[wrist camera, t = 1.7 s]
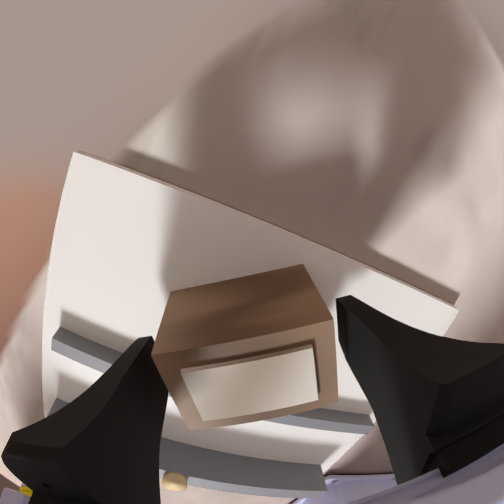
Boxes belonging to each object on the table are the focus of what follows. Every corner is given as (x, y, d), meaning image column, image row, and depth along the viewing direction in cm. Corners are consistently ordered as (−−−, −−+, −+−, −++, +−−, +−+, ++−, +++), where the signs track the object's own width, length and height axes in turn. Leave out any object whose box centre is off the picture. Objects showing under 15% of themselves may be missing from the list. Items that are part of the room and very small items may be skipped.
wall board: (453, 305, 15) (490, 339, 12) (309, 478, 20) (317, 514, 17) (80, 150, 11) (33, 159, 8) (46, 411, 16) (29, 449, 13)
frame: (302, 263, 13) (335, 322, 9) (312, 338, 14) (339, 406, 10) (170, 291, 13) (149, 359, 9) (196, 361, 14) (189, 434, 10)
